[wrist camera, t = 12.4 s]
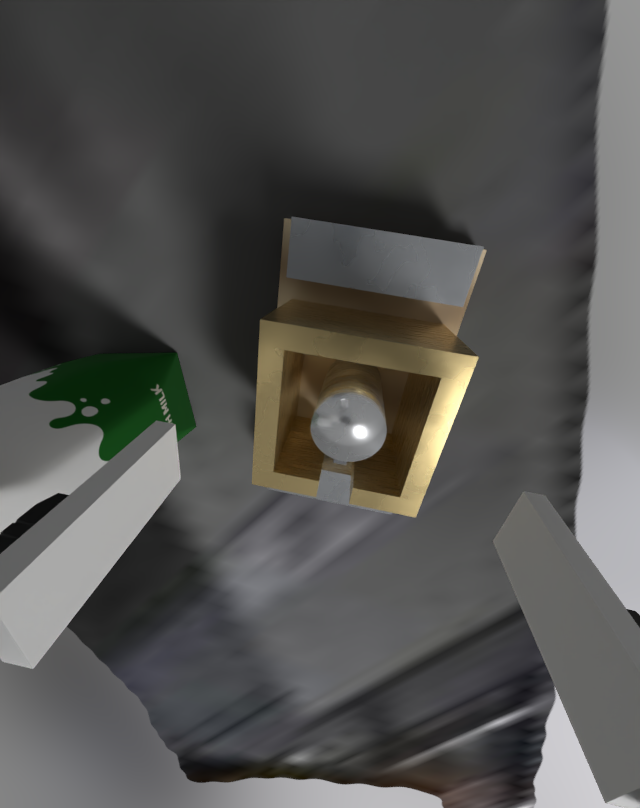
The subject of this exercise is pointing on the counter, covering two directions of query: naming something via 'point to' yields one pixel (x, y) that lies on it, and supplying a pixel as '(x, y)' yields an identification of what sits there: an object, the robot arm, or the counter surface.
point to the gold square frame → (372, 345)
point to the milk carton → (81, 421)
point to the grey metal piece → (382, 273)
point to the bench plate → (365, 301)
